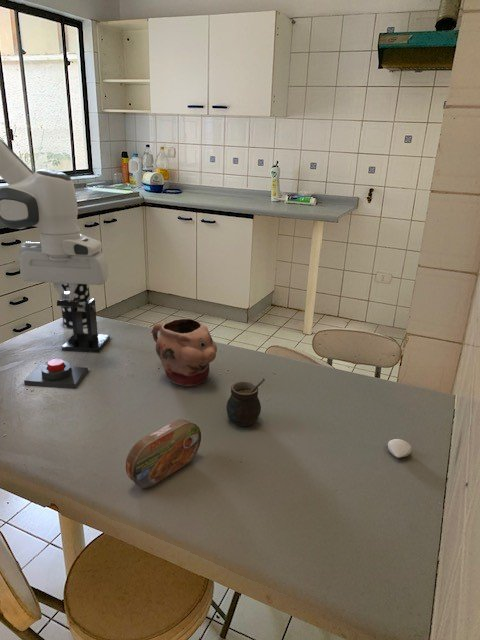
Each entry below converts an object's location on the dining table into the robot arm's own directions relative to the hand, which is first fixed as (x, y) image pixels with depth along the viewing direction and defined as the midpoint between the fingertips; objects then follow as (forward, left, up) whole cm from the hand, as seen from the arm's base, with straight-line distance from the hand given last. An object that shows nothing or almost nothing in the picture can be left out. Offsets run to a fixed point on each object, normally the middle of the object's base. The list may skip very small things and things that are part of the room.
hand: (67, 299), depth 113 cm
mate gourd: (+45, -22, -17) cm, 53 cm away
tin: (+32, -39, -17) cm, 53 cm away
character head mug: (+29, -5, -17) cm, 34 cm away
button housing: (0, -10, -16) cm, 19 cm away
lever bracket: (0, +9, -16) cm, 19 cm away
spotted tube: (-8, +23, -17) cm, 30 cm away
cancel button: (0, -10, -14) cm, 17 cm away
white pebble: (+75, -30, -17) cm, 82 cm away
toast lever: (0, +5, -5) cm, 6 cm away
